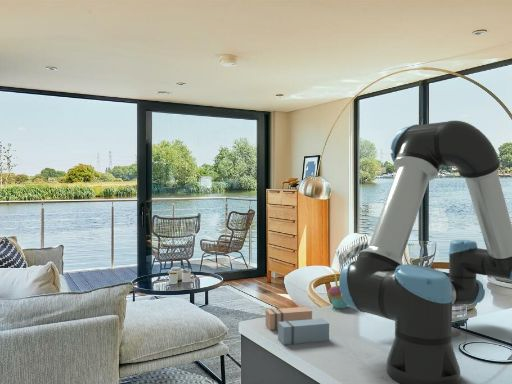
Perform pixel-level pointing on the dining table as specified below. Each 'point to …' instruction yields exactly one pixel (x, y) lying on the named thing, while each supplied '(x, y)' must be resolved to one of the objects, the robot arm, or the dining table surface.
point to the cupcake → (336, 296)
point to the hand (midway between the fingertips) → (364, 297)
